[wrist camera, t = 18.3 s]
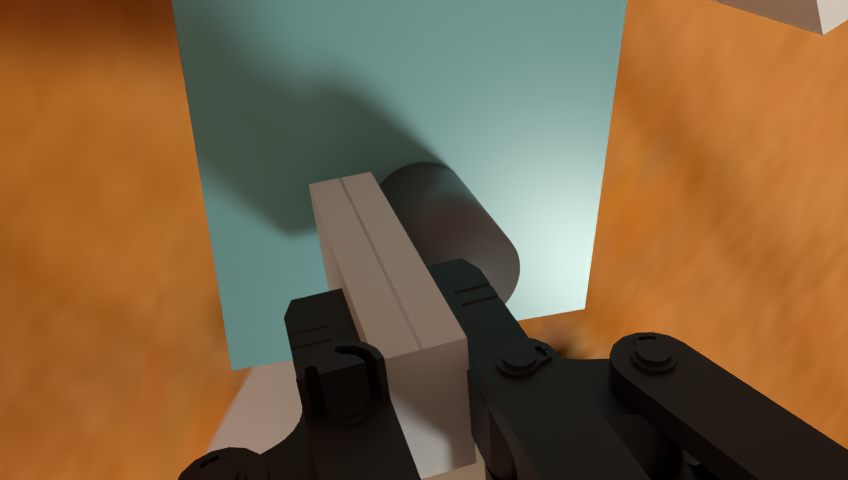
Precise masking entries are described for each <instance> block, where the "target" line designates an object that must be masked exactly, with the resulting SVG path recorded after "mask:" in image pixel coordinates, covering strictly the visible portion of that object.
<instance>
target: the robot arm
mask: <svg viewBox="0 0 848 480" xmlns="http://www.w3.org/2000/svg"><path fill="white" fill-rule="evenodd" d="M309 189H310V195H311V200H312V205H313V210H314V216H315V221H316V226H317V232H318V237H319V242H320V247H321V253H322V258H323V263H324V269H325V274H326V279H327V284H328V287H329V290H330V291H327V292H323V293H319V294H314V295H310V296H306V297H302V298H298V299H293V300H291V302H290V304H289V306H288V309H287V311H286V313H285V316H284V321H285V326H286V330H287V335H288V340H289V344H290V349H291V353H292V358H293V363H294V367H295V372H296V381H297V385H298V390H299V394H300V399H301V403H302V411H303V412H302V415H301V418H300V421H299V423H298V424H297V426H296V428H295V429H294V431H293V432H292V433H291V434H290V435H289V436H288V437H287V438H286V439H285V440H283V441H282V442H280V443H279V444H277V445H276V446H274V447H273V448H271V449H269V450H267V451H265V452H264V453H262V454H260V455H259V454H258V453H255V452H253V451H251V450H249V449H246V448H234V447H228V448H224V449H220V450H216V451H212V452H210V453H208V454H206V455H204V456H202V457H200V458H199V459H197V460H195V461H194V462H193V463H192V464H190V465H189V466H188V467H187V468H186V469H185V470H184V471H183V472H182V473H181V474H180V476H179V478H178V480H421V479H423V478H427V477H430V476H433V475H437V474H440V473H443V472H447V471H450V470H454V469H457V468H460V467H463V466H467V465H470V464H474V463H476V455H475V443H476V445H477V447H478V449H479V451H480V453H481V455H482V457H483V459H484V461H485V474H486V480H848V450H847V449H846V448H844V447H842V446H841V445H839V444H838V443H836V442H835V441H833V440H832V439H830V438H829V437H827V436H826V435H824V434H823V433H821V432H820V431H818V430H816V429H815V428H813V427H812V426H810V425H809V424H807V423H806V422H804V421H803V420H801V419H800V418H798V417H797V416H795V415H794V414H792V413H790V412H789V411H787V410H786V409H784V408H783V407H781V406H780V405H778V404H777V403H775V402H774V401H772V400H771V399H769V398H768V397H766V396H764V395H763V394H761V393H760V392H758V391H757V390H755V389H754V388H752V387H751V386H749V385H748V384H746V383H745V382H743V381H742V380H740V379H738V378H737V377H735V376H734V375H732V374H731V373H729V372H728V371H726V370H725V369H723V368H722V367H720V366H719V365H717V364H715V363H714V362H712V361H711V360H709V359H708V358H706V357H705V356H703V355H702V354H700V353H699V352H697V351H696V350H694V349H693V348H691V347H689V346H688V345H686V344H685V343H683V342H681V341H679V340H677V339H675V338H673V337H671V336H668V335H663V334H658V333H654V332H647V333H634V334H631V335H628V336H625V337H622V338H621V339H620V340H619V341H617V342H616V343H615V344H614V345H613V347H612V350H611V352H610V359H586V360H578V359H566V358H561V357H560V356H559V354H558V353H557V352H556V351H555V350H554V349H553V348H551V347H550V346H549V345H548V344H546V343H544V342H541V341H539V340H536V339H532V338H528V336H527V335H526V333H525V332H524V331H523V329H522V328H521V326H520V325H519V323H518V322H517V321H516V319H515V318H514V316H513V315H512V314H511V312H510V311H509V309H508V308H507V306H506V305H505V304H504V302H503V301H502V299H501V298H499V296H498V294H497V292H496V291H495V289H494V288H493V287H492V286H491V285H490V282H489V281H488V279H487V278H486V277H485V275H484V274H483V272H482V271H481V269H480V268H478V267H476V266H474V265H473V264H471V263H469V262H467V261H466V260H464V259H462V258H459V259H455V260H451V261H446V262H442V263H438V264H434V265H429V266H425V264H424V263H423V261H422V259H421V258H420V256H419V254H418V252H417V251H416V249H415V247H414V245H413V244H412V242H411V240H410V239H409V237H408V235H407V233H406V232H405V230H404V228H403V226H402V225H401V223H400V221H399V220H398V218H397V216H396V214H395V213H394V211H393V209H392V207H391V206H390V204H389V202H388V201H387V199H386V197H385V195H384V194H383V192H382V190H381V189H380V187H379V185H378V183H377V182H376V180H375V178H374V176H373V175H372V173H371V172H366V173H361V174H357V175H352V176H347V177H342V178H337V179H332V180H327V181H322V182H317V183H312V184H309Z"/></svg>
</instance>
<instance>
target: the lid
mask: <svg viewBox="0 0 848 480" xmlns="http://www.w3.org/2000/svg"><path fill="white" fill-rule="evenodd" d="M171 1H172V7H173V13H174V19H175V25H176V32H177V38H178V44H179V50H180V56H181V62H182V68H183V74H184V80H185V87H186V93H187V99H188V105H189V111H190V117H191V123H192V129H193V136H194V142H195V148H196V154H197V160H198V166H199V172H200V178H201V184H202V191H203V197H204V203H205V209H206V215H207V221H208V227H209V233H210V239H211V246H212V252H213V258H214V264H215V270H216V276H217V282H218V288H219V294H220V301H221V307H222V313H223V319H224V325H225V331H226V337H227V343H228V350H229V356H230V362H231V368H232V370H237V369H243V368H249V367H254V366H259V365H266V364H271V363H277V362H283V361H289V360H293V358H292V353H291V349H290V344H289V340H288V335H287V330H286V326H285V321H284V316H285V313H286V311H287V309H288V306H289V304H290V302H291V300H293V299H298V298H302V297H306V296H310V295H314V294H319V293H323V292H327V291H330V290H329V287H328V284H327V279H326V274H325V269H324V263H323V258H322V253H321V247H320V242H319V237H318V232H317V226H316V221H315V216H314V210H313V205H312V200H311V195H310V189H309V184H312V183H317V182H322V181H327V180H332V179H337V178H342V177H347V176H352V175H357V174H361V173H366V172H371V173H372V175H373V176H374V178H375V180H376V182H377V183H378V185H379V187H380V189H381V190H382V192H383V194H384V195H385V197H386V199H387V201H388V202H389V204H390V206H391V207H392V209H393V211H394V213H395V214H396V216H397V218H398V220H399V221H400V223H401V225H402V226H403V228H404V230H405V232H406V233H407V235H408V237H409V239H410V240H411V242H412V244H413V245H414V247H415V249H416V251H417V252H418V254H419V256H420V258H421V259H422V261H423V263H424V264H425V266H429V265H434V264H438V263H442V262H446V261H451V260H455V259H459V258H462V259H464V260H466V261H467V262H469V263H471V264H473V265H474V266H476V267H478V268H480V269H481V271H482V272H483V274H484V275H485V277H486V278H487V279H488V281H489V282H490V285H491V286H492V287H493V288H494V289H495V291H496V292H497V294H498V296H499V298H501V299H502V301H503V302H504V304H505V305H506V306H507V308H508V309H509V311H510V312H511V314H512V315H513V316H514V318H515V319H516V321H517V320H523V319H528V318H534V317H540V316H546V315H551V314H557V313H563V312H568V311H574V310H580V309H585V302H586V295H587V288H588V280H589V273H590V266H591V259H592V251H593V244H594V237H595V230H596V222H597V215H598V208H599V201H600V193H601V186H602V179H603V172H604V164H605V157H606V150H607V143H608V135H609V128H610V121H611V114H612V107H613V99H614V92H615V85H616V78H617V70H618V63H619V56H620V49H621V41H622V34H623V27H624V20H625V12H626V5H627V0H171Z"/></svg>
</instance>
